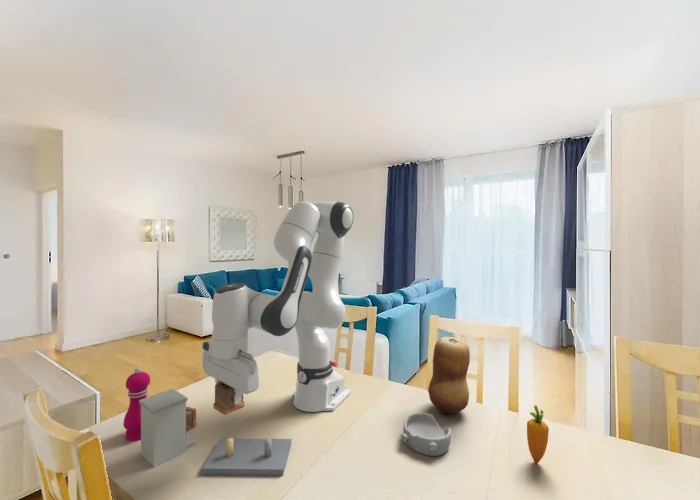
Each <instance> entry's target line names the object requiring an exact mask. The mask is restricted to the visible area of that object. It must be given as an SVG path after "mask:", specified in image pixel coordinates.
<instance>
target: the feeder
mask: <svg viewBox="0 0 700 500" xmlns="http://www.w3.org/2000/svg"><path fill="white" fill-rule="evenodd" d="M146 397H147V398H144V399H141V400H139V403H140V404H141V439H140V455H141V456H143V458H144V459H145V460H146V461H147V462H148V463H149V464H150V466H152V467H153V468H156V467H158V466H160V465H161V464H163V463H166V462H168V461H170V460H172V459H174V458H175V457H177V456H180V455H181V454H183V453H185V452H186V451H187V449H188V448H190V447H192V446H194V445H195V444H196V441H195V440H194V439H193V438H192V437H190V436H189V435H187V432H186V407H187V402H188V401H189V400H188V399H189V398H188V397H187V396H185V395H184V394H182V393H181V392H179V391H177V390H176V389H174V388H170V389H168V390H164V391H162V392H159V393H156V394H153V395H150V396H146Z"/></svg>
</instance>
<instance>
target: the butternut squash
mask: <svg viewBox="0 0 700 500" xmlns="http://www.w3.org/2000/svg"><path fill="white" fill-rule="evenodd" d="M470 357H471V352H470V347H469V345H468V343H467V342H465V341H463V340H461V339H458V338H456V337H451V336H443V337H440V338H439V339H438V340H437V341H436V343H435V345H434V348H433V356H432V375H431V379H430V381H429V384H428V390H427V392H428V396H429V400H430V403H431V404H432V405H433V406H434V407H435V408H436V409H437V411H438V412H440V413H442V414H453V413H459V412H462V411H464V410H465V408H467V406H468V404H469V401H470V391H469V385H468V382H467V373H468V370H469V366H470V363H471V362H470V361H471V360H470Z"/></svg>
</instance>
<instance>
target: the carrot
mask: <svg viewBox="0 0 700 500" xmlns="http://www.w3.org/2000/svg"><path fill="white" fill-rule="evenodd" d="M533 408H534V411H535V412H534V411H532V412H531V411H530V412H529V414H530V415H531V416H532V417H533V418H531V419H528V420H527V422H526V438H527V445H528V450H529V453H530V456H531V458H532V460H533V462H534V463H535V464H538V463H540V461H541V460H542V459H543V457H544V455H545V453H546V450H547V446H548V440H549V430H550V429H549V426H548V424H546V422H545V421H544V420H543V417H544V410H543V409H540V410H539V408H538V406H537V405H536V404H534V405H533Z"/></svg>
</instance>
